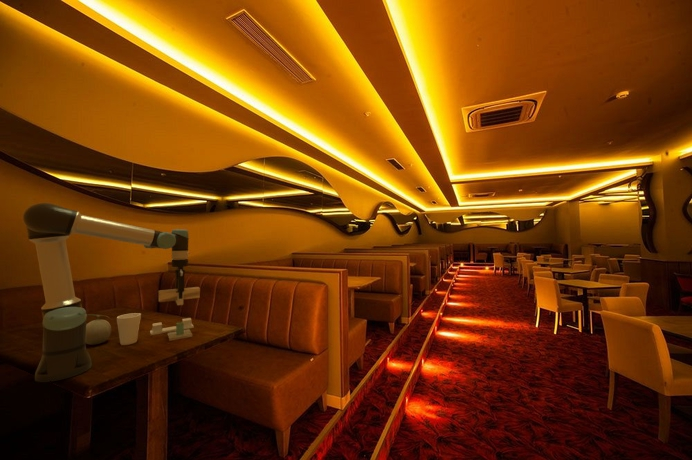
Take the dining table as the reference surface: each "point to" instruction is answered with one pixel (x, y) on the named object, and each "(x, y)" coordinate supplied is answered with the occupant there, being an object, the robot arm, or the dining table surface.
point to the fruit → (97, 330)
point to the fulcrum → (179, 332)
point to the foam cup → (128, 328)
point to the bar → (172, 295)
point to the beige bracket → (158, 327)
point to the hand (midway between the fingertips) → (179, 303)
